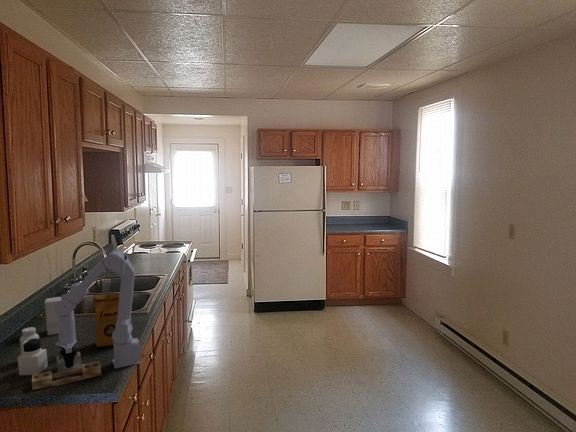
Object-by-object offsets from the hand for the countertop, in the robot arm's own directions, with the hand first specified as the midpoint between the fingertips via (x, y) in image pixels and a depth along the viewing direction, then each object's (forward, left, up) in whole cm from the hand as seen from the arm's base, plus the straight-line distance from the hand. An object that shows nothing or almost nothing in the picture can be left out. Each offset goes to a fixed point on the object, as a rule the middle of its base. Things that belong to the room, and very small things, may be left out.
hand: (69, 364), depth 170 cm
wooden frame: (+1, +10, -1) cm, 10 cm away
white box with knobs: (0, 0, -2) cm, 2 cm away
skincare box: (+4, -45, -2) cm, 45 cm away
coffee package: (-17, -17, -2) cm, 24 cm away
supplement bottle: (+13, -15, -2) cm, 20 cm away
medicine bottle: (+12, -4, -2) cm, 13 cm away
